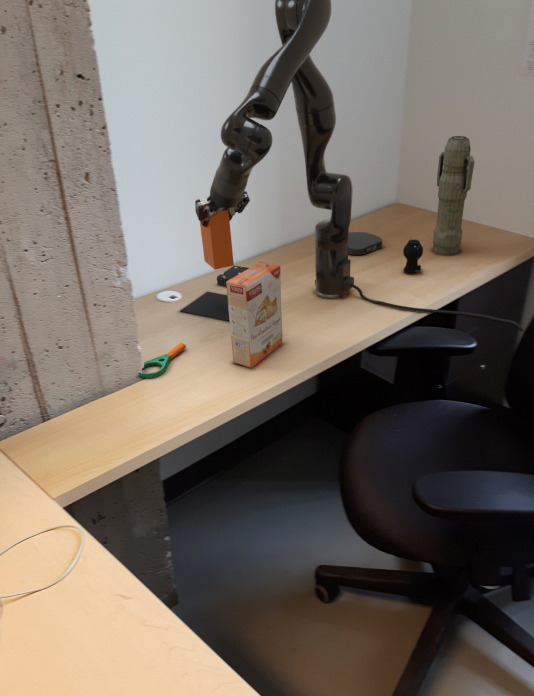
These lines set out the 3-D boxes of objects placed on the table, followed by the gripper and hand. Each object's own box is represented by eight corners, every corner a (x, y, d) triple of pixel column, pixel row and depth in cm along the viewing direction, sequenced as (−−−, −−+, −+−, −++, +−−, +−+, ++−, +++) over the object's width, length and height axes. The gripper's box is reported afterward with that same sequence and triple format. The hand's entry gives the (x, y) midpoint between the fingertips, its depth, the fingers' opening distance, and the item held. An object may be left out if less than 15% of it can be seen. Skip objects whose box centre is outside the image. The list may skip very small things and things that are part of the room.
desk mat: (266, 303, 168) (266, 302, 168) (241, 324, 158) (241, 322, 158) (207, 292, 176) (207, 291, 176) (180, 311, 166) (180, 310, 166)
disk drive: (217, 285, 181) (259, 292, 175) (215, 277, 179) (258, 283, 173) (234, 273, 188) (275, 279, 182) (233, 265, 187) (275, 270, 181)
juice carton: (196, 197, 152) (207, 203, 147) (216, 193, 154) (227, 200, 149) (204, 261, 162) (214, 269, 156) (223, 257, 164) (233, 265, 158)
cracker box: (253, 369, 139) (246, 286, 127) (232, 363, 141) (223, 281, 130) (284, 344, 148) (281, 264, 137) (264, 338, 151) (259, 259, 139)
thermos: (455, 258, 191) (469, 142, 172) (423, 250, 198) (433, 138, 178) (468, 250, 196) (484, 136, 177) (437, 243, 203) (449, 133, 184)
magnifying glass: (152, 380, 136) (151, 374, 135) (133, 374, 139) (131, 368, 138) (193, 351, 147) (192, 345, 146) (174, 346, 150) (173, 340, 149)
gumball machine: (425, 274, 181) (428, 243, 175) (407, 277, 180) (409, 245, 174) (416, 267, 186) (418, 235, 181) (398, 269, 185) (400, 238, 180)
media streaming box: (356, 236, 212) (356, 228, 210) (386, 246, 203) (387, 237, 201) (326, 247, 204) (326, 238, 203) (357, 257, 195) (357, 249, 193)
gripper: (206, 203, 135) (194, 240, 150) (262, 192, 140) (245, 229, 156) (195, 174, 136) (184, 214, 151) (251, 165, 141) (235, 204, 157)
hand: (215, 221), depth 153 cm, fingers closed on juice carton, 5 cm apart
